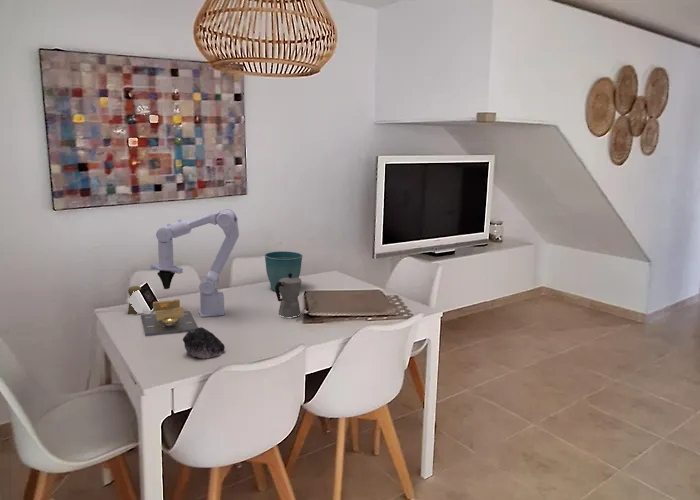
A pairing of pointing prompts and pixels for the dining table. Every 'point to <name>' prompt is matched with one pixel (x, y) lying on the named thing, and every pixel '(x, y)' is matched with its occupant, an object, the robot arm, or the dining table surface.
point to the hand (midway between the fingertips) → (166, 288)
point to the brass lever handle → (170, 315)
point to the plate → (158, 328)
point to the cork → (130, 291)
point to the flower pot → (282, 266)
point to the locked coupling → (166, 305)
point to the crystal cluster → (203, 344)
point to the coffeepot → (288, 296)
